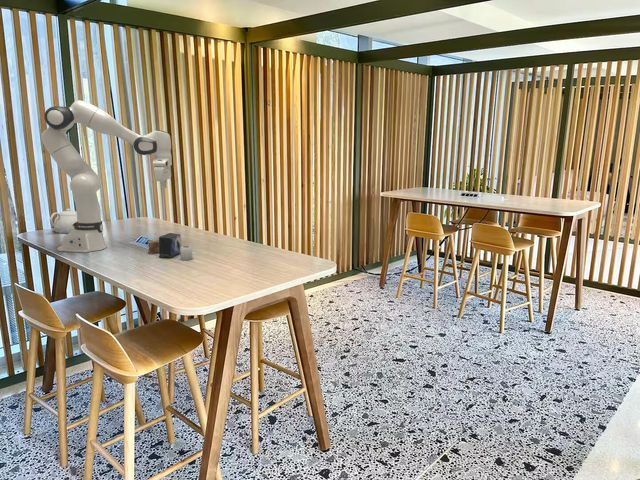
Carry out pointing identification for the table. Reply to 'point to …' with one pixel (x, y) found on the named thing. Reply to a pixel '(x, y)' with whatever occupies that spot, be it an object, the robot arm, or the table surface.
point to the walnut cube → (153, 246)
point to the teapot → (64, 221)
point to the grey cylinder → (186, 252)
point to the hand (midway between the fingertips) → (163, 188)
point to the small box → (169, 245)
